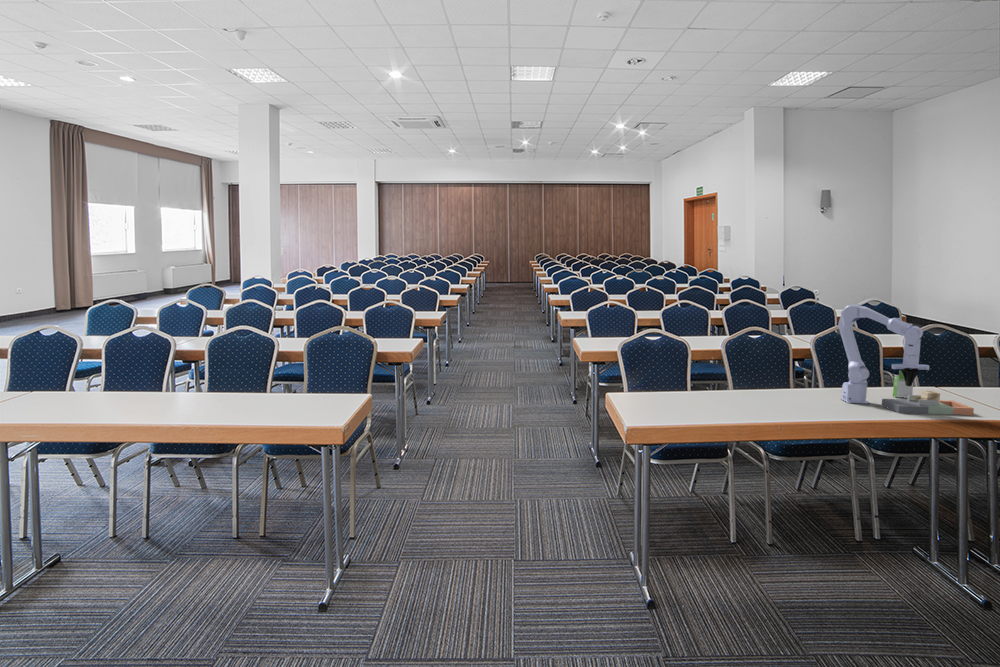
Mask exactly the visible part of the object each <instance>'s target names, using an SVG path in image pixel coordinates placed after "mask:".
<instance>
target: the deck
mask: <svg viewBox="0 0 1000 667" xmlns="http://www.w3.org/2000/svg"><path fill="white" fill-rule="evenodd" d="M881 400H882V401H881V406H882V405H883V407H884V406H885V407H884V408H886V407H888V408H890V409H889V410H891V409H892V410H891V411H893V410H894V411H893V412H895V411H896V412H895V413H897V412H898V413H897V414H912V413H919V414H922V415H946V414H962V415H961V416H974V410H975V408H974V407H972V406H968V405H966V404H963V403H961V402H957V401H955V400H946V399H945V400H940V401H939V405H938V406H919V405H918V401H907V400H908V398H881ZM888 408H887V409H888ZM919 414H918V415H919Z"/></svg>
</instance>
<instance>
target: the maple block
mask: <svg viewBox="0 0 1000 667" xmlns="http://www.w3.org/2000/svg"><path fill="white" fill-rule="evenodd" d="M920 395H921V399H932V400H939V401H940V399H941V398H940V397H941V393H940V392H937V391H934V390H921V392H920ZM939 401H938V405H939Z"/></svg>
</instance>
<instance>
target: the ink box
mask: <svg viewBox="0 0 1000 667" xmlns="http://www.w3.org/2000/svg"><path fill="white" fill-rule="evenodd" d="M898 370H899V371H898V375H894V379H893V387H892V397H893V396H895V397H904V398H903V399H908V395H913V391H914V390H913V389H914V382H913V383H912V386H906V383H905V379H904V376H903V373H902V371H901V369H898ZM895 397H894V398H895Z"/></svg>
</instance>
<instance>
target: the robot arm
mask: <svg viewBox="0 0 1000 667" xmlns="http://www.w3.org/2000/svg"><path fill="white" fill-rule="evenodd" d="M860 318H861V319H863V318H865V319H866V318H867V319H871V320H873V321H875V322H877V323H880V324H881V325H882V324H883V325H885V326H886V328H887V330H889V331H891V332H893V333H894V334H897V335H899V336H902V337H903V336H904V340H905V341H904V347H903V348H904V349H903V358H902V363H891V369H892V370H901V371H902V374H903V376H904V379H905V383H906V386H912V383H913V384H914V381H915V380H916V377H917V376H918V375H919V374H920V371H921V370H922V371H923V370H926V371H930V365H928V364H919V363H920V353H921V343H922V342H921V338H922V337H923V335H924V330H922V328H921V327H919V326H918V325H913V323H908V322H906V321H904V320H902V318H900V317H893V318H890V317H888V316H886V315H884V314H882V313H880V312H878V311H875V310H874V309H871V308H869V307H867V306H863V305H861V304H858V303H857V304H848V305H846V306H845V307H843V309H842V310H841V311H840V317H839V321H838V326H837V327H838V330H839V333H840V337H841V340H842V343H843V347H844V350H845V354H846V358H847V361H848V365H847V366H848V367H847V369H848V373H847V375H848V381H847V382H845V381H844V382H843V383H842V386H841V387H842V388H841V397H840V400H841V399H842V400H841V401H843V400H844V402H845V401H846V402H845V403H847V404H868V403H869V404H871V403H870V402H869V401H867V392H868V391H867V390H868V381H867V379H869V377H870V371H869V369H868V367H866V364H865V363H864V361H863V360H862V357H861V354H860V351H859V346H858V344H857V340H856V337H855V333H854V331H853V326H854V324H855V323H856V321H858V320H859V319H860Z"/></svg>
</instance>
